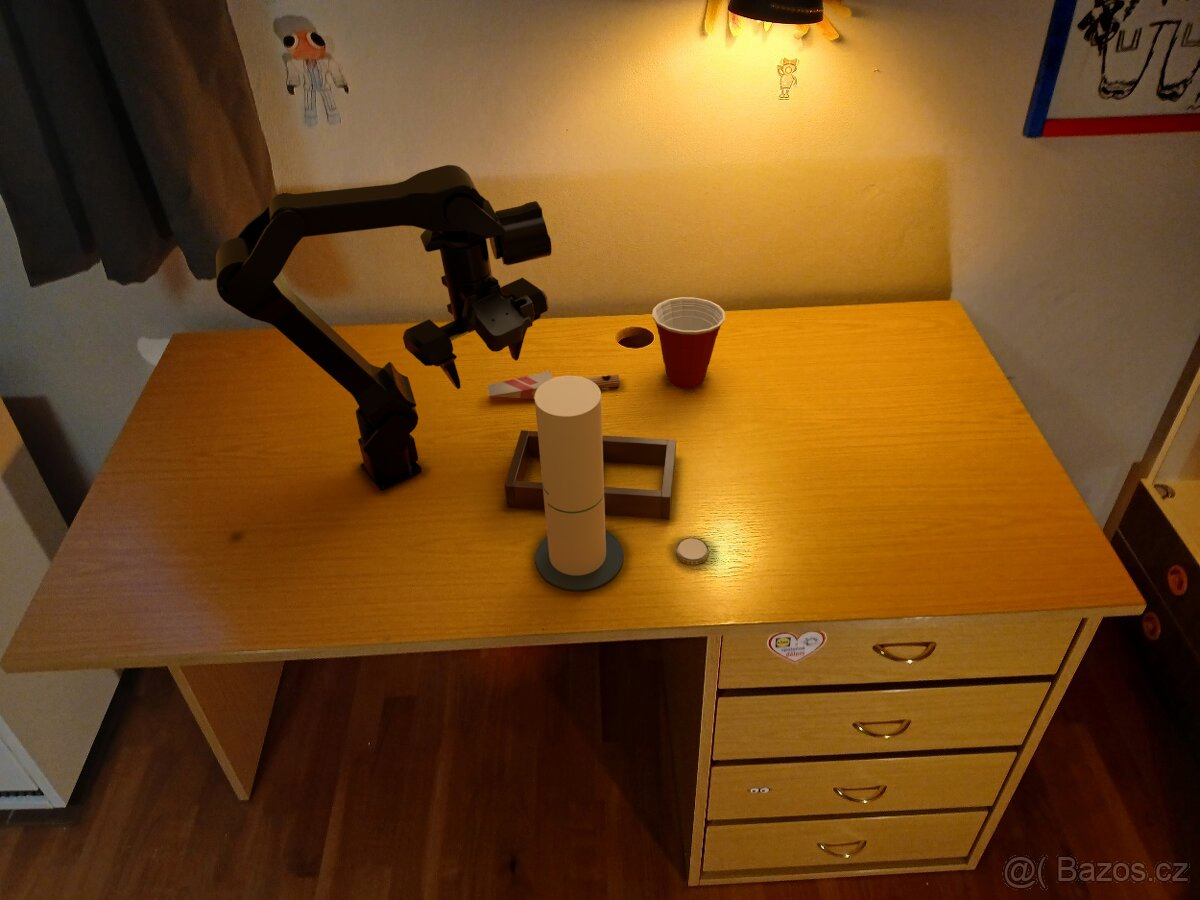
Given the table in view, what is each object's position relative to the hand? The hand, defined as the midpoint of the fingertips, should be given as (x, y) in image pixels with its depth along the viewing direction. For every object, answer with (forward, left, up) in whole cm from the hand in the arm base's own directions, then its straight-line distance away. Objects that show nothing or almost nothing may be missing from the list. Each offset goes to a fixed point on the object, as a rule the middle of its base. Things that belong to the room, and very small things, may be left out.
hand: (486, 373), depth 122 cm
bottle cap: (+8, -33, -13) cm, 36 cm away
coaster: (-4, -25, -13) cm, 28 cm away
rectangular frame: (+6, -15, -13) cm, 21 cm away
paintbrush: (+14, +5, -13) cm, 20 cm away
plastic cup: (+32, -5, -13) cm, 35 cm away
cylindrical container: (-4, -24, -13) cm, 28 cm away
